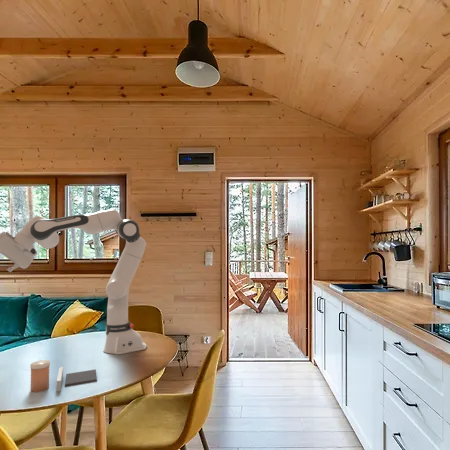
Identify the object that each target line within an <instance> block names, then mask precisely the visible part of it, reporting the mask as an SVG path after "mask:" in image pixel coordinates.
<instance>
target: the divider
mask: <svg viewBox="0 0 450 450" xmlns="http://www.w3.org/2000/svg"><path fill="white" fill-rule="evenodd" d="M56 377H57V378H56V390H55V391H56V392H61V391H62V386H63V378H64V366H61V367H59V368H58V373H57V376H56Z"/></svg>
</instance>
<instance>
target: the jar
mask: <svg viewBox="0 0 450 450" xmlns="http://www.w3.org/2000/svg"><path fill="white" fill-rule="evenodd" d="M50 366H51V361H50V359H49V360H48V359H42V360H36V361H34V362H31V363H30V392H31V393H40V392H45V391H47V390H48V389H49V388H50Z"/></svg>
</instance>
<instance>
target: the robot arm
mask: <svg viewBox="0 0 450 450" xmlns="http://www.w3.org/2000/svg"><path fill="white" fill-rule="evenodd" d="M69 229H78V230H81V231H83V232H85V234H88V235H96V234H101V233H103V232H107V231H111V230H114V232H116V234H117V235H118V236H119V237H120V238H122V239H124V240H125V245H124V249H123V251H122V252H121V255H120V257H119V260H118V261H117V263H116V266H115V268H114V269H113V272H112V273H111V275H110V278H109V280H108V282H107V284H106V286H105V293H106V295H107V297H108V298H107V305H106V306H107V307H106V324H105V335H106V338H105V343H104V348H103V352H104V353H107V354H112V355H113V354H114V355H123V354H128V353H134V352H138V351H142V350H146V349H147V343H145V342H144V341H143V338H142V335H141V334H140V333H138V332H137V330H134V329H133V328H134V324H133V323H132V322H130V321H129V295H130V294H129V293H130V292H129V291H130V286H131V283H132V281H133V279H134V276H135V275H136V272H137V270H138V268H139V265H140V264H141V262H142V259H143V256H144V254H145V250H146V247H147V241H146V240H145V239H144V237H141V234H140V227H139V224H138V222H136V221H134V220H133V219H127V218H122V217H121V214H120V213H119V211H117V210H116V209H107V210H100V211H97V212H93V213H87V214H73V215H67V216H62V217H59V218H57V217H56V218H51V219H50V218H48V219H47V218H46V217H44V216H41V215H36V216H34V217H32V218H30V220H28V221H27V222H26V223H25V224H24V225H23V227H22V229H21V230H20V231H18V232H17V233H16V234H15V235H13V234H11V233H10V232H8V231H2V232H1V233H0V254H1V255H3V256H4V257H5V258H6V259H8V260H9V261H11V262H12V263H13V266H11V267H10V266H9V267H8V268H7V269H6V271H8V272H9V273H12V272H13V270H15V269H18V268H21V269H23V270H24V269H28V267H29V266H30V265H31V264H32V263H33V261H34V259H35V256H37V255H38V251H37V250H36V248H35V246H34V244H35V243H37V244H38V245H40V247H42V248H44V249H47V250H50V249H53V248H55V247H57V246H58V245H59V243H60V235H59V234H58V232H60V231H65V230H69Z"/></svg>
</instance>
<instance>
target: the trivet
mask: <svg viewBox="0 0 450 450" xmlns="http://www.w3.org/2000/svg"><path fill="white" fill-rule="evenodd" d="M64 381H65V382H64V387H70V386H76V385H82V384H87V383H95V382H97V381H98V377H97V369H90V370H82V371H77V372H71V373H65V380H64Z"/></svg>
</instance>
